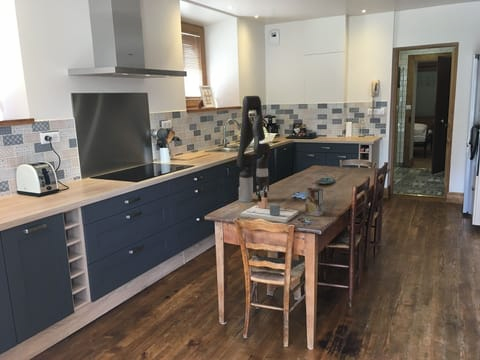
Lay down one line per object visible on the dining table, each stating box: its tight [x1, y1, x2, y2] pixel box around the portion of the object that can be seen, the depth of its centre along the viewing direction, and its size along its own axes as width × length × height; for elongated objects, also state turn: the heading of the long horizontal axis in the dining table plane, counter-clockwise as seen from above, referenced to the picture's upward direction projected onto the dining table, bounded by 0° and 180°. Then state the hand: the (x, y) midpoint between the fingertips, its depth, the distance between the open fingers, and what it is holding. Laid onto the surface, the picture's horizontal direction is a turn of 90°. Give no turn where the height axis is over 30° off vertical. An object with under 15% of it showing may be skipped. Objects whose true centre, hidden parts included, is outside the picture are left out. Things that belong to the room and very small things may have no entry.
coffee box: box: [305, 187, 324, 217], centre depth 253 cm, size 9×6×16 cm
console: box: [240, 204, 300, 223], centre depth 255 cm, size 30×20×2 cm
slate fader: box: [269, 203, 281, 216], centre depth 246 cm, size 5×4×6 cm
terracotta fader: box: [257, 196, 268, 208], centre depth 263 cm, size 5×4×6 cm
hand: (262, 200), depth 262 cm, fingers open, 8 cm apart
